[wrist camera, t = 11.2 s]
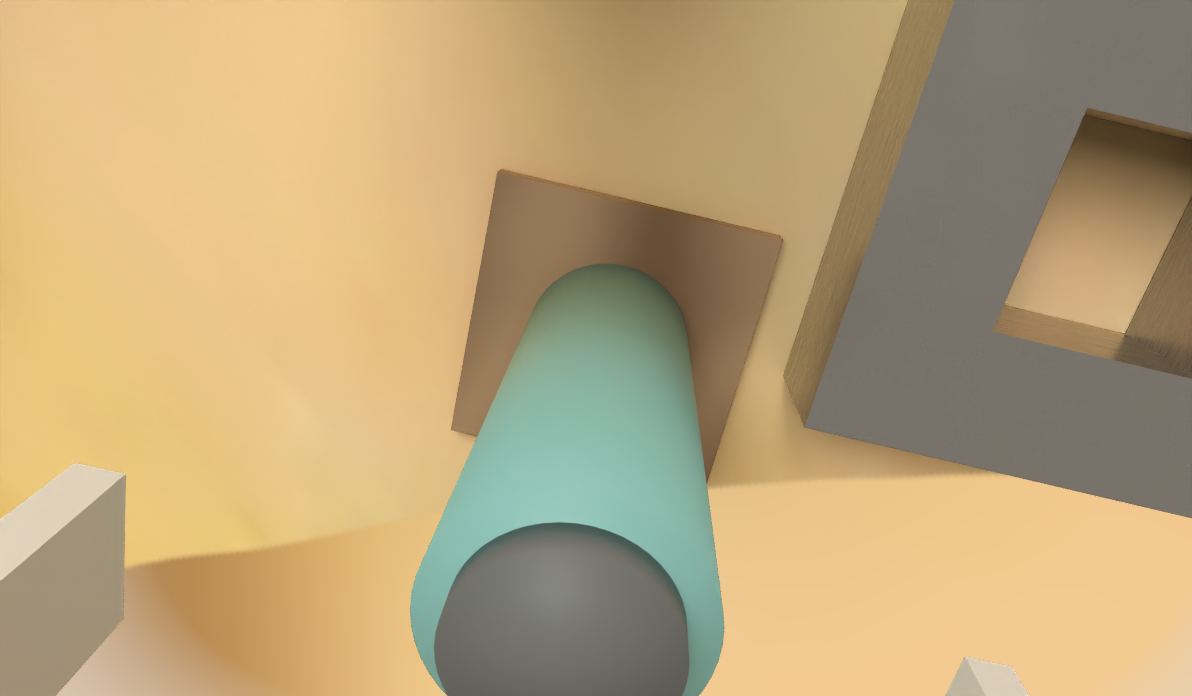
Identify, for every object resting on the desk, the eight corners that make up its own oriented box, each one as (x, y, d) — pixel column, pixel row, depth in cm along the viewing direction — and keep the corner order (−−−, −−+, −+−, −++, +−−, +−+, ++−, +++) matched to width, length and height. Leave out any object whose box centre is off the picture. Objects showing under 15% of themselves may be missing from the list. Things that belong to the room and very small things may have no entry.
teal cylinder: (514, 394, 27) (376, 747, 14) (545, 247, 26) (421, 481, 12) (664, 429, 28) (679, 815, 14) (705, 284, 26) (771, 561, 12)
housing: (783, 375, 27) (804, 427, 24) (936, -85, 22) (993, -111, 19) (1186, 470, 27) (1271, 536, 24) (1425, 36, 23) (1578, 33, 19)
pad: (454, 422, 29) (450, 429, 28) (500, 169, 26) (497, 172, 25) (704, 480, 29) (704, 489, 28) (780, 235, 26) (783, 239, 25)
